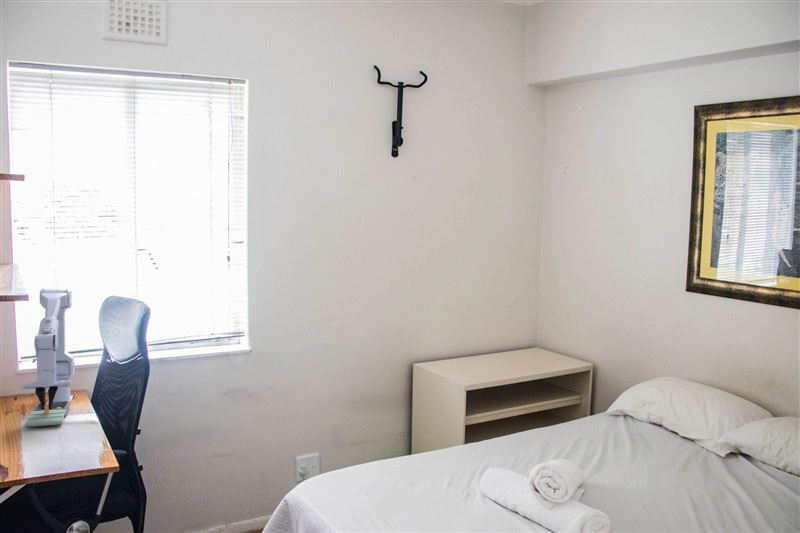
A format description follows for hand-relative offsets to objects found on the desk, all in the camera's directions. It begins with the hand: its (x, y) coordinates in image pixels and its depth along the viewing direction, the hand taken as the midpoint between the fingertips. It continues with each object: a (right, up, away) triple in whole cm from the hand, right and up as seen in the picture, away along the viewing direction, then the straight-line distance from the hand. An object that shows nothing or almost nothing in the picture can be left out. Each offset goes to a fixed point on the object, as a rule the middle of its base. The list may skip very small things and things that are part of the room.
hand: (47, 409), depth 220 cm
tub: (-3, -4, +9) cm, 10 cm away
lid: (+1, -4, -1) cm, 4 cm away
